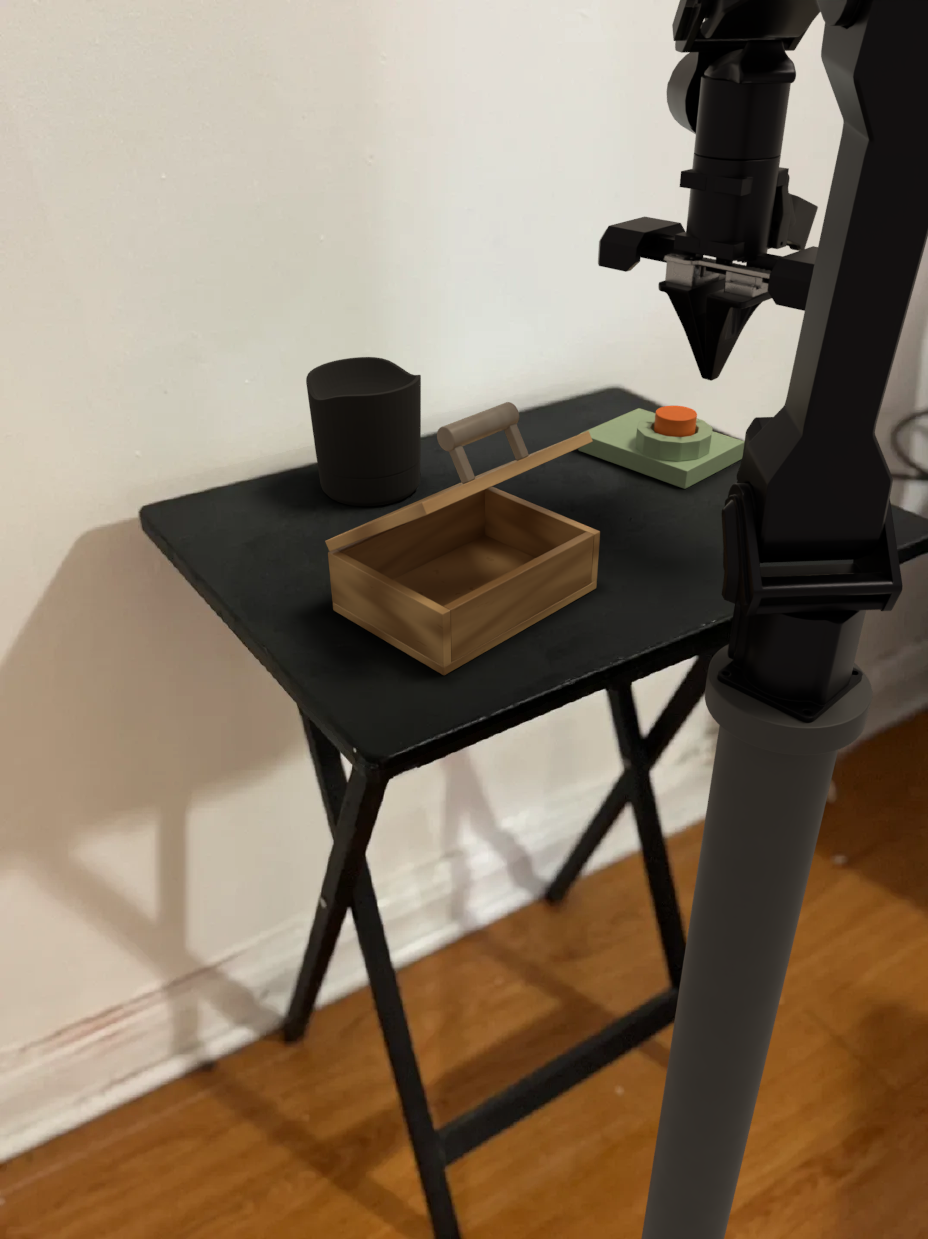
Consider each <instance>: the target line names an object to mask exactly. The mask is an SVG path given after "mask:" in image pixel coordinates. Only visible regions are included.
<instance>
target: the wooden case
mask: <svg viewBox="0 0 928 1239" xmlns="http://www.w3.org/2000/svg"><path fill="white" fill-rule="evenodd" d="M600 540H601V531H600V530H598V529H595V528H593V527H590V526H588V525H586V524H583V523H581V522H579V521H576V520H574V519H571V518H569V517H566V516H564V515H562V514H560V513H557V512H555V511H552V510H549V509H548V508H545V507H542V506H541V505H537V504H535V503H532V502H531V501H528V500H525V499H524V498H521V497H519V496H516V495H513V494H511V493H510V492H509V493H508V492H506V491H504V490H501V489H500V488H497V487H494V486H492V487H489V488H487V489H485V490H483V491H480V492H478V493H476V494H473V495H471V496H469V497H467V498H464V499H462V500H460V501H458V502H455V503H453V504H451V505H449V506H446V507H444V508H442V509H440V510H437V511H435V512H433V513H431V514H428V515H426V516H423V517H421V518H418V519H415V520H413V521H410V522H407V523H405V524H402V525H399V526H397V527H394V528H391V529H389V530H386V531H383V532H381V533H378V534H375V535H373V536H370V537H367V538H365V539H362V540H359V541H357V542H354V543H352V544H349V545H346V546H344V547H341V548H338V549H336V550H333V551H328V552H327V557H328V558H327V559H328V568H329V579H330V589H331V601H332V609H333V611H334V612H335V613H337V614H338V615H341V616H343V617H344V618H345V619H347V620H349V621H351V622H353V623H354V624H356V625H357V626H359V627H361V628H362V629H365V630H366V631H368V632H370V633H371V634H373V635H374V636H376V637H378V638H379V639H381V640H383V641H385V642H386V643H388V644H390V645H391V646H393V647H395V648H396V649H398V650H400V651H401V652H403V653H405V654H407V655H408V656H410V657H411V658H413V659H415V660H416V661H418V662H420V663H421V664H424V665H425V666H427V667H429V668H430V669H432V670H434V671H435V672H437V673H439V674H441V675H442V676H446V675H448V674H449V673H452V672H453V671H455V670H456V669H458V668H460V667H461V666H463V665H465V664H467V663H469V662H470V661H472V660H474V659H476V658H478V657H479V656H481V655H483V654H484V653H486V652H488V651H490V650H491V649H493V648H494V647H497V646H498V645H500V644H502V643H503V642H506V641H507V640H508V639H511V638H513V637H515V635H518V634H519V633H521V632H523V631H524V630H526V629H527V628H529V627H531V626H533V625H536V624H537V623H539V622H540V621H542V620H544V619H545V618H547V617H550V615H552V614H555V613H556V612H557V611H560V610H561V609H563V608H564V607H566V606H568V605H570V604H572V603H573V602H575V601H577V600H578V599H580V598H582V597H583V596H585V595H587V594H589V593H590V592H593V591H594V590H596V589H597V584H598V582H597V581H598V572H599V571H598V570H599V557H600V556H599V552H600Z"/></svg>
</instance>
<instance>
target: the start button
mask: <svg viewBox="0 0 928 1239" xmlns="http://www.w3.org/2000/svg"><path fill="white" fill-rule="evenodd" d="M654 413H655V424H654V431H655V433H658V434H661V435H664V436H672V437H686V436H692V435H694V433H695V428H696V420H697V419H698V413H697V411H696V410H694V409H693V408H691V407H687V406H683V405H664V406H661V407H659V408H657V409H656V410H655V412H654Z"/></svg>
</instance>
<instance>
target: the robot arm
mask: <svg viewBox="0 0 928 1239" xmlns="http://www.w3.org/2000/svg"><path fill="white" fill-rule="evenodd" d="M820 14H821V17H822V20H823V21H824V25H823V26H824V28H823V34H822V43H821V49H820V58H821V62H822V66H823V67H824V70H825V73H826V76H827V79H828V82H829V85H830V87H831V89H832V93H833V96H834V98H835V100H836V103H837V106H838V109H839V112H840V114H841V117H842V121H843V122H842V130H841V134H840V135H841V136H840V139H839V140H840V141H839V146H838V151H837V155H836V159H835V165H834V169H833V174H832V180H831V184H830V188H829V193H828V197H827V202H826V207H825V212H824V216H823V222H822V227H821V231H820V237H819V241H818V245H817V246H815V245H812V246H810V247H807V243H808V240H809V238H810V233H811V231H812V227H813V225H814V222H815V218H816V215H817V212H818V210H819V206H818V205H816V204H814V203H812V202H810V201H808V200H806V199H805V198H803V197H801V196H798V195H796V194H794V193H793V194H792V193H790V192H789V187H790V186H789V185H790V179H791V178H790V174H789V170H790V167H789V168H788V167H781V166H780V163H781V158H782V155H781V154H782V148H783V144H784V143H783V142H784V134H785V128H786V120H787V114H788V106H789V99H790V93H791V84H793V83H794V82H795V81H796V78H797V70H796V67H795V63H794V61H793V60H792V59H791V58H790V57H789V55H788V54H787V53H786V52H793V51H796V49H797V47H798V46H799V44H800V43H801V41H802V39H803V38H804V36H805V35H806V33H807V31H808V29H809V28H810V26H811V25H812V23H813V22H814V20H815V19H816V18H817V17H818V16H819V15H820ZM671 28H672V39H673V42H674V44H675V45H674V50H675V51H676V52H678V53H681V54H683V53H687V54H685V55H684V56H683V57H682V58H681V59H680V60H679V61H678V62H677V64H676V65H675V67H674V69H673V70H672V72H671V75H670V77H669V80H668V82H667V85H666V103H667V107H668V110H669V112H670V114H671V116H672V118H673V119H674V120H675V121H676V123H678V124H679V126H681V127H682V128H684V129H686V130H688V131H689V132H691V133H693V134H695V138H694V149H693V158H692V168H689V169H685V170H681V171H680V176H679V177H680V178H679V188H684V189H689V199H688V208H687V218H686V219H687V220H686V227H685V228H686V229H684V226H683V224H682V222H678V221H673V220H666V219H660V218H655V217H649V216H642V217H637V218H633V219H630V220H625V221H623V222H618V223H614V224H611V225H608V226H607V228H606V229H605V230H604V231H603V233H602V235H601V237H600V239H599V241H598V253H597V265H598V267H602V268H607V269H611V270H616V271H621V272H626V273H628V272H631V271H632V270H633V269H634V268H635V267H636V266H637V265H638V264H639V263H640V262H641V258H642V259H645V260H651V261H656V262H661V263H666V266H665V278H664V280H661V281H659V282H658V286H657V287H658V291H659V292H662V293H665V294H666V295H667V297H668V299H669V300H670V303H671V306H672V307H673V309H674V311H675V313H676V316H677V317H678V320H679V321H680V323H681V326H682V328H683V331H684V333H685V336H686V338H687V341H688V344H689V347H690V349H691V352H692V355H693V357H694V360H695V364H696V366H697V368H698V371H699V374H700V376H701V378H702V379H704V380H706V381H715V380H717V379H718V378H719V377H720V375H721V373H722V371H723V369H724V367H725V365H726V364H727V361H728V359H729V357H730V356H731V353H732V352H733V350H734V348H735V345H736V343H737V342H738V339H739V338H740V336H741V334H742V331H743V330H744V329H745V326H746V324H747V323H748V321H749V320H750V319H751V317H752V315H753V314H754V312H755V311H756V310H757V309H758V307H759V306H760V305H761V304H762V303H763V302H766V301H768V300H769V301H770V300H772V301H773V303H774V304H775V305H777V306H780V307H785V308H789V309H795V310H798V311H804V313H803V318H802V322H801V327H800V331H799V337H798V341H797V347H796V350H795V356H794V360H793V366H792V370H791V374H790V379H789V385H788V389H787V394H786V398H785V402H784V405H783V406H782V407H781V408H780V410H778V411H777V413H776V414H775V415H774V416H756V417H754V418H753V419H752V421H751V423H750V424H749V425H748V427H747V428H746V430H745V435H744V441H745V442H744V450H743V456H742V459H741V460H740V465H739V468H738V470H737V473H736V480H737V481H736V482H734V483H733V484H732V485H731V486H730V488H729V491H728V494H727V498H726V499H725V501H724V507H723V508H722V510H721V528H722V546H723V549H722V550H723V551H722V552H723V554H722V562H723V563H722V567H723V571H724V572H723V582H722V587H721V588H722V589H721V597H722V598H723V600H724V601H726V602H729V603H731V604H734V607H733V613H732V621H731V626H730V632H729V640H728V644H729V646H728V657H729V658H730V659H733V661H731V662H730V663H728V664H727V665H726V666H724V667H723V668H721V669H720V670H719V671H718V675H717V679H718V681H720V682H721V683H723V684H725V685H727V686H730V687H732V688H734V689H736V690H738V691H740V692H742V693H744V694H746V695H748V696H750V697H752V698H754V699H756V700H758V701H761V702H763V703H765V704H767V705H769V706H771V707H773V708H775V709H777V710H779V711H781V712H783V713H785V714H787V715H789V716H792V717H794V718H796V719H798V720H800V721H802V722H805V723H812V722H814V721H815V720H816V719H817V718H819V717H820V716H821V715H822V714H823V713H824V712H826V711H827V710H828V709H829V708H830V707H831V706H833V705H834V704H835V703H836V702H837V701H838V700H840V699H841V698H842V697H843V696H844V695H845V694H847V693H848V692H849V691H850V690H851V689H852V688H854V687H855V686H856V685H857V684H858V683H859V682H861V680H862V676H863V673H862V672H861V671H860V670H858V669H856V668H854V667H853V666H854V663H856V662H855V661H856V657H857V654H858V648H859V645H860V639H861V636H862V631H863V627H864V622H865V618H866V613H867V611H880V612H892V611H893V609H894V607H895V605H896V603H897V602H898V599H899V598H900V596H901V594H902V591H903V579H902V572H901V565H900V564H901V563H900V558H899V551H898V545H897V537H896V531H895V524H894V517H893V510H892V504H891V494H892V488H893V481H894V478H893V476H892V473H891V470H890V468H889V465H888V463H887V460H886V457H885V455H884V453H883V450H882V448H881V446H880V443H879V440H878V438H877V436H876V429H877V424H878V419H879V415H880V412H881V408H882V405H883V402H884V398H885V394H886V390H887V388H888V387H887V386H888V383H889V380H890V375H891V373H892V369H893V365H894V361H895V357H896V355H897V354H896V353H897V350H898V346H899V344H900V339H901V336H902V331H903V328H904V325H905V321H906V318H907V314H908V310H909V306H910V304H911V303H910V302H911V299H912V295H913V292H914V289H915V284H916V281H917V277H918V273H919V270H920V267H921V263H922V260H923V255H924V252H925V248H926V244H927V242H928V0H679V3H678V5H677V8H676V12H675V15H674V18H673V21H672V24H671ZM785 247H789V249H790V250H793V251H795V252H792V253H789V254H786V255H783V256H782V255H777V254H772V253H771V254H770V253H768V251H769V250H770V249H772V250H774V249H775V250H780V249H782V248H785ZM705 256H706V257H705ZM736 262H737V263H736ZM828 561H830V562H831V561H853V562H850V563H828V564H827V563H825V564H823V563H822V564H821V563H820V564H795V565H766V566H761V564H767V563H769V564H770V563H798V562H828Z"/></svg>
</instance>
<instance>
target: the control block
mask: <svg viewBox="0 0 928 1239" xmlns="http://www.w3.org/2000/svg"><path fill="white" fill-rule="evenodd" d="M655 413H656V412H653V411H650V410H646V409H643V408H640V407H638V408H636V409H634V410H631V411H629V412H627V413H624V414H621V415H620V416H619V415H618V416H617V417H615V418H613V419H610V420H608V421H605V422H603V423H600V424H598V425H596V426H594V427H592V428H589V429H586V430H584V431H582V432H581V433H584V432H586V431H589V433H590V435H591V438H592V440H593V442H591V443H589V444H586V445H584V446H582V447H580V448H578V451H579V452H582V453H584V454H587V455H590V456H593V457H595V458H598V459H601V460H604V461H606V462H610V463H612V464H614V465H618V466H620V467H623V468H626V469H628V470H632V471H634V472H637V473H639V474H643V475H645V476H647V477H651V478H654V479H656V480H659V481H661V482H665V483H667V484H670V485H673V486H675V487H679V488H681V489H684V490H685V489H688V488H690V487H691V486H693V485H695V484H697V483H699V482H701V481H703V480H705V479H707V478H708V477H711V476H712V475H714V474H715V473H716V474H717V473H718V472H720V471H722V470H724V469H726V468H727V467H729V466H732V465H733V464H735V463H737V462H739V461H741V460H742V456H743V450H744V442H745V440H742V439H739V438H735V437H732V436H728V435H726V434H722V433H720V432H716V431H713V430H714V428H713V427H712V426H711V425H710V424H709V423H708V422H706V420H703V419H700V418H697V420H696V428H695V433H694V435H692V436H686V437H672V436H664V435H661V434H658V433H655V431H654V424H655ZM581 433H579V434H581Z"/></svg>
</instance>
